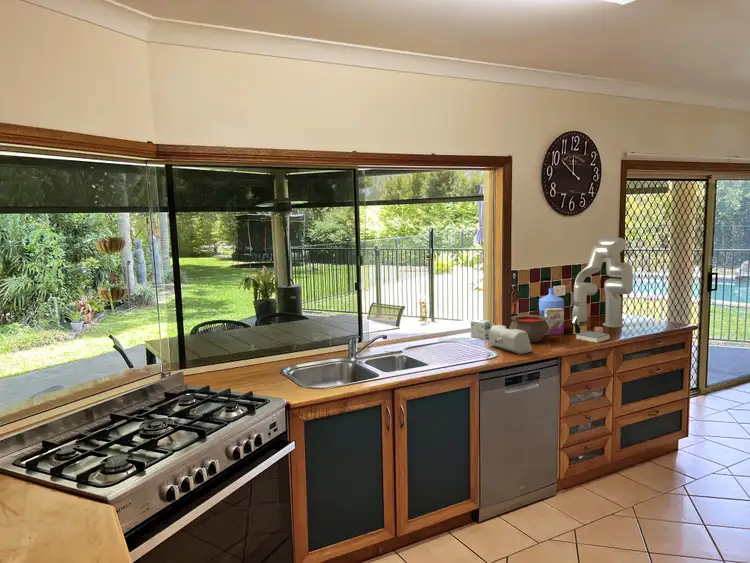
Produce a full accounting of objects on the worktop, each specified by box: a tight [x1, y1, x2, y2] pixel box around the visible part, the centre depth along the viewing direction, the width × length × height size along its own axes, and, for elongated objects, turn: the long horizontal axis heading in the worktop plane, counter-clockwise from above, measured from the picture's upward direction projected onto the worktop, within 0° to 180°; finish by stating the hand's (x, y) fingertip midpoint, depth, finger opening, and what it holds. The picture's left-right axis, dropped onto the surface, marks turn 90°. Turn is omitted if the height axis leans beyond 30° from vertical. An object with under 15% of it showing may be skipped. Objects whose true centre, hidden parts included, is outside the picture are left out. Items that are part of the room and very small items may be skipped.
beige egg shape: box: [593, 326, 604, 333], centre depth 329 cm, size 5×5×5 cm
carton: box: [572, 323, 588, 335], centre depth 333 cm, size 5×7×7 cm
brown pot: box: [508, 311, 549, 343], centre depth 325 cm, size 24×24×16 cm
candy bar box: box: [545, 308, 565, 336], centre depth 336 cm, size 11×5×16 cm, turn 88°
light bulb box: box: [470, 319, 491, 340], centre depth 336 cm, size 11×7×11 cm, turn 47°
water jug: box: [538, 287, 565, 317], centre depth 346 cm, size 16×16×28 cm
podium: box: [575, 330, 611, 343], centre depth 321 cm, size 13×14×3 cm
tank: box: [488, 324, 533, 355], centre depth 303 cm, size 25×16×12 cm, turn 26°
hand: (579, 332), depth 333 cm, fingers closed on carton, 4 cm apart
